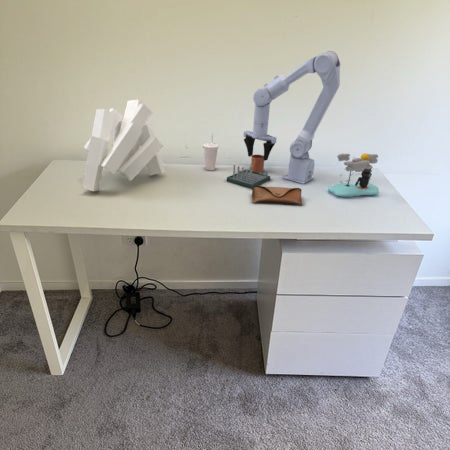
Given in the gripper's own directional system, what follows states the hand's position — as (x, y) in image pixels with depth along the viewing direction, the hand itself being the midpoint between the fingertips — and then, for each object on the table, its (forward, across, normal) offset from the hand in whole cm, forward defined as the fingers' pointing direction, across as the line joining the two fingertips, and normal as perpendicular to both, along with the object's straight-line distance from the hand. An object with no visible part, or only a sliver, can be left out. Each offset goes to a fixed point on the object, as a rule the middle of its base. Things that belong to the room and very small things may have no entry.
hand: (257, 158), depth 159 cm
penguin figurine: (+5, +41, +4) cm, 42 cm away
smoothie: (+6, -16, -12) cm, 20 cm away
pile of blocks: (+6, -32, -44) cm, 54 cm away
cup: (+5, 0, 0) cm, 5 cm away
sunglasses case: (+6, +23, -21) cm, 32 cm away
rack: (+5, +4, -12) cm, 14 cm away
